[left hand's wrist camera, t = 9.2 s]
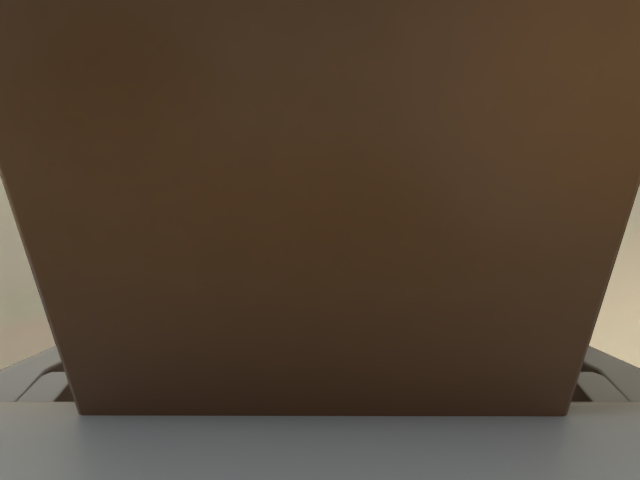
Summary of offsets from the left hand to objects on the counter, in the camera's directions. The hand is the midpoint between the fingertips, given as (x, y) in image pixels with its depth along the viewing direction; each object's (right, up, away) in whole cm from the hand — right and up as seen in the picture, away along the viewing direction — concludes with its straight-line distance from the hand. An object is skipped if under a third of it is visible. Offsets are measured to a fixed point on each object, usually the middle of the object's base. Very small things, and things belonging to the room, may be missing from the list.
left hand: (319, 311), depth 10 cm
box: (0, +10, +4) cm, 11 cm away
